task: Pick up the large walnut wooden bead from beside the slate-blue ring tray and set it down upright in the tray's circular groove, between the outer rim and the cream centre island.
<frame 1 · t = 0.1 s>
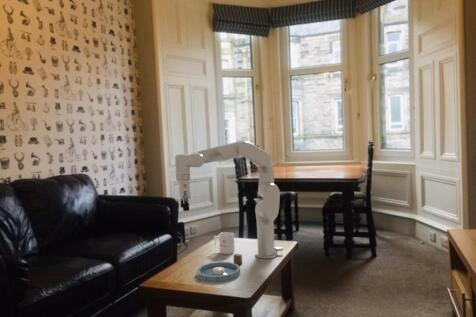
hand: (184, 209, 218), 31 cm above the table, tool pointing down, fingers open, 9 cm apart
ring tray: (218, 274, 205), on the table
walnut bead: (238, 264, 219), on the table
mug: (224, 252, 241), on the table
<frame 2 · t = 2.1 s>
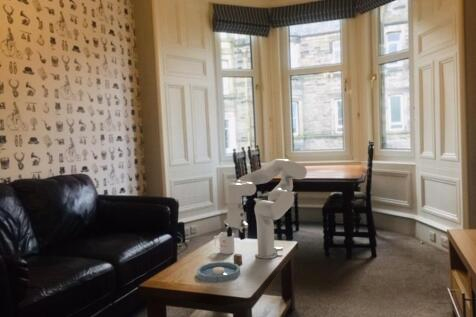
hand: (236, 237, 217), 15 cm above the table, tool pointing down, fingers open, 9 cm apart
nothing on the table moved.
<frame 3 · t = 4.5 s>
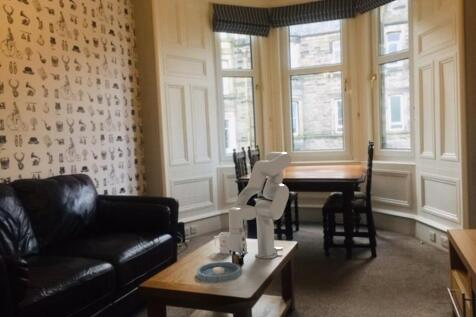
hand: (237, 263, 219), 0 cm above the table, tool pointing down, fingers closed on walnut bead, 4 cm apart
walnut bead: (237, 264, 219), on the table, touching gripper
everything else where it was.
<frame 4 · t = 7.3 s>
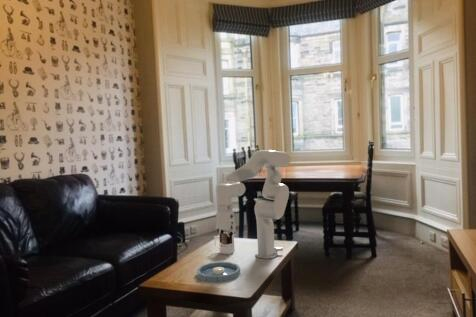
hand: (226, 242, 208), 15 cm above the table, tool pointing down, fingers closed on walnut bead, 4 cm apart
walnut bead: (226, 243, 208), point 15 cm above the table, touching gripper
everything else where it was.
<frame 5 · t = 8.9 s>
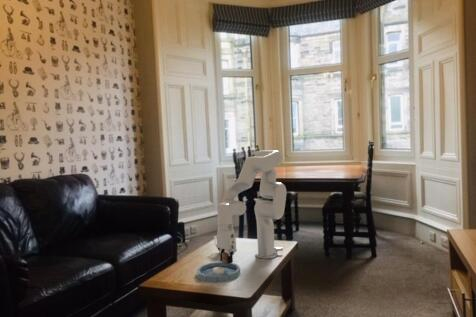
hand: (226, 261, 209), 5 cm above the table, tool pointing down, fingers closed on walnut bead, 4 cm apart
walnut bead: (226, 262, 209), point 5 cm above the table, touching gripper
everything else where it was.
when the fingers open (3 cm above the table, at t = 10.2 s): walnut bead drops 1 cm, resting on ring tray.
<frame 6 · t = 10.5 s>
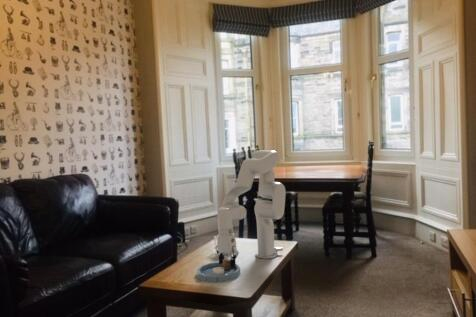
hand: (227, 264, 209), 3 cm above the table, tool pointing down, fingers open, 7 cm apart
walnut bead: (227, 269, 209), point 1 cm above the table, touching ring tray
everything else where it was.
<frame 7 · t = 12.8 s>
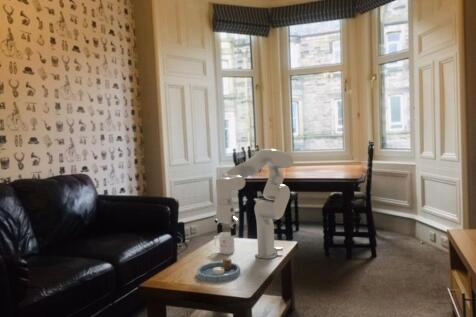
hand: (226, 234, 210), 19 cm above the table, tool pointing down, fingers open, 9 cm apart
nothing on the table moved.
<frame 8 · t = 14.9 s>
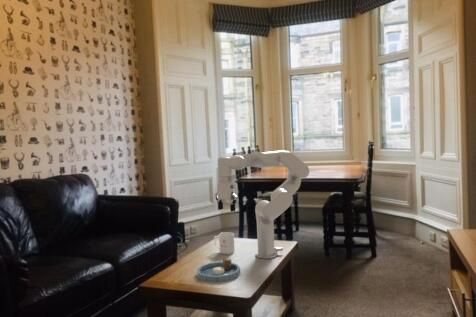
hand: (226, 210, 224), 28 cm above the table, tool pointing down, fingers open, 9 cm apart
nothing on the table moved.
at the end: walnut bead 0.0 cm from the target spot on the ring tray, point 0.8 cm above the ring tray's base; walnut bead tilted 0°; the gripper is holding nothing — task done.
